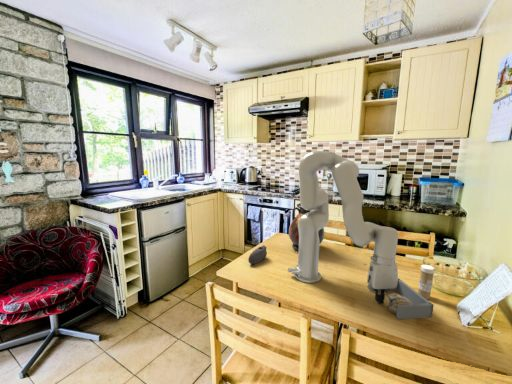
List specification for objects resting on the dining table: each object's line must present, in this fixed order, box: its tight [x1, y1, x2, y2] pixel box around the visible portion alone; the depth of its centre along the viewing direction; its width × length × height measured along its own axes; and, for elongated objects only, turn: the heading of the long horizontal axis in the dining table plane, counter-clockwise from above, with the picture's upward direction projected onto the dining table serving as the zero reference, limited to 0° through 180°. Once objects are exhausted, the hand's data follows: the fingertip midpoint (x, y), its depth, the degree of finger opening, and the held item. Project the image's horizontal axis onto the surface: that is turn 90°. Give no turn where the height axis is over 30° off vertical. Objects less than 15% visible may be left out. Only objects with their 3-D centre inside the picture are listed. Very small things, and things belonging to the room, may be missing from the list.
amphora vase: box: [288, 202, 325, 253], centre depth 147 cm, size 22×22×28 cm
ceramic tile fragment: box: [387, 292, 412, 315], centre depth 93 cm, size 12×3×10 cm
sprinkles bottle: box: [417, 264, 436, 300], centre depth 100 cm, size 5×5×14 cm
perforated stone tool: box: [248, 245, 268, 265], centre depth 131 cm, size 15×5×7 cm, turn 141°
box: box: [369, 277, 435, 320], centre depth 96 cm, size 13×18×5 cm
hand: (379, 301), depth 96 cm, fingers closed
